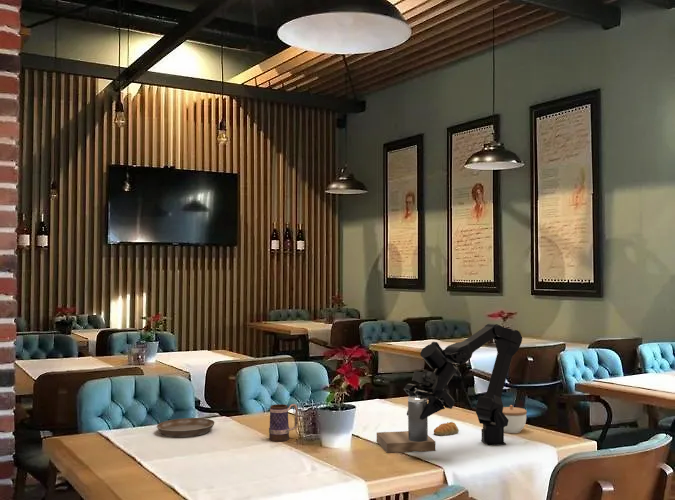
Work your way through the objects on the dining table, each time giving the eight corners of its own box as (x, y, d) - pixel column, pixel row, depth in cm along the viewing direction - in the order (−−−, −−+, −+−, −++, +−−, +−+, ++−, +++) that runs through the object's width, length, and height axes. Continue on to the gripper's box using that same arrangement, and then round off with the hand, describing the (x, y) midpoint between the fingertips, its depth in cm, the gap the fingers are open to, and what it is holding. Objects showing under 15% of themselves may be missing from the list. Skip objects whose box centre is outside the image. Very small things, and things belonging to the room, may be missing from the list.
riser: (422, 439, 255) (421, 430, 255) (435, 450, 239) (435, 441, 239) (376, 441, 252) (376, 432, 252) (387, 453, 237) (387, 443, 237)
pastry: (443, 438, 258) (443, 427, 258) (428, 435, 263) (428, 424, 263) (460, 433, 264) (460, 422, 264) (445, 430, 269) (445, 420, 269)
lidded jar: (530, 430, 268) (530, 404, 268) (521, 436, 259) (520, 409, 259) (502, 426, 274) (502, 401, 274) (491, 432, 265) (491, 406, 265)
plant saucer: (156, 440, 256) (156, 431, 256) (156, 428, 276) (156, 419, 276) (216, 437, 261) (216, 427, 261) (212, 425, 281) (212, 416, 281)
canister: (424, 436, 234) (424, 395, 234) (430, 441, 228) (429, 398, 228) (406, 437, 233) (405, 396, 233) (411, 442, 227) (410, 399, 227)
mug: (270, 442, 252) (270, 407, 252) (267, 437, 259) (267, 403, 259) (300, 440, 254) (299, 405, 254) (296, 436, 261) (296, 401, 261)
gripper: (407, 358, 241) (381, 396, 234) (447, 364, 225) (419, 405, 219) (426, 380, 245) (400, 418, 238) (466, 388, 229) (440, 428, 223)
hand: (414, 417), depth 230 cm, fingers closed on canister, 6 cm apart
